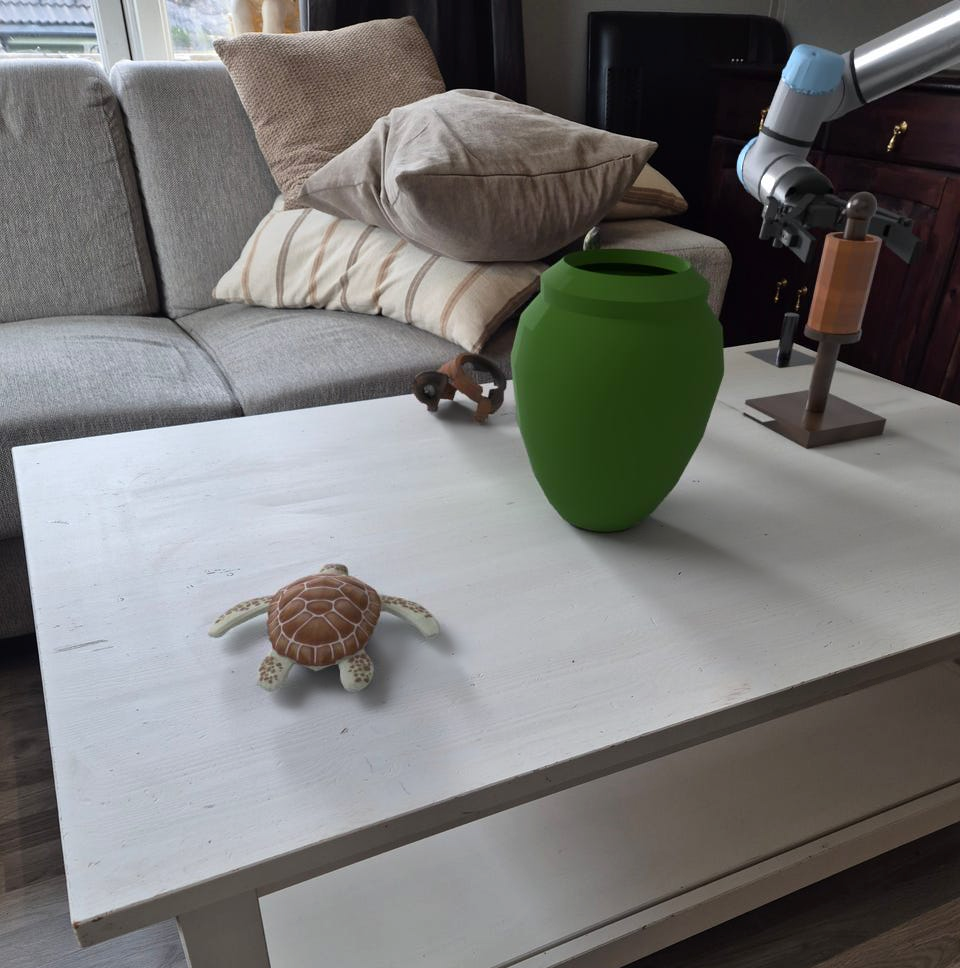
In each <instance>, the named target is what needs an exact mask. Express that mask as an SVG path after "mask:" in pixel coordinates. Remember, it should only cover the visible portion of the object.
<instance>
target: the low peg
mask: <svg viewBox="0 0 960 968" xmlns="http://www.w3.org/2000/svg"><path fill="white" fill-rule="evenodd" d="M799 319H800V315H799V314H798V313H797V312H796V313H795V312H786V313H784V316H783V322H782V327H781V331H780V337H779V342H778V345H777V346H778V347H772V348H765V349H757V350H749V351H744V353H745V354H747V355H749V356H751V357H754V358H755V359H758V360H760V361H762V362H765V363H767V364H769V365H772V366H774V367H776V368H778V369H784V368H791V367H799V366H806V365H813V364H815V360H816V357H814V356H811V355H808V354H806V353H804V352H802V351H799V350H796V349H794V343H795V338H796V334H797V329H798V323H799Z"/></svg>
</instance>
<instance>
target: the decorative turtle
mask: <svg viewBox="0 0 960 968" xmlns="http://www.w3.org/2000/svg"><path fill="white" fill-rule="evenodd" d="M382 612H383V613H388V614H391V615H393V616H395V617H397V618H399V619H400V620H402V621H404V622H406V623H408V624H409V625H411V626H414V628H416V629H417V630H418V631H419V632H420V633H421V634H422V635H423V637H425V638H426V639H429V640H431V639H435V638H437V637H439V635H440V633H441V628H440V627H441V626H440V624H439V621H438V620H437V618H436V617H435V616H434V615H433V613H431V612H430V611H429V610H428V609H427V608H425V607H424V606H423V605H421V604H419V603H418V602H415V601H412V600H411V599H407V598H401V597H397V596H392V595H384V594H379V593H378V592H377V590H376V589H375V588H374V587H372V586H371V585H369V584H367V583H365V582H364V581H362V580H360V579H359V578H357V577H354V576H353V575H349V568H348V567H347V566H346V564H345V565H344V564H342V563H327V564H324V565H323V566H321V567H320V569H319V572H318V573H317V574H310V575H307V576H303V577H301V578H298V579H296V580H294V581H292V582H291V583H289V584H287V585H285V586H284V587H281V588H280V589H279V590H278V591H277V592H276V593H275V594H272V595H265V596H260V597H256V598H252V599H248V600H245V601H243V602H240V603H238V604H236V605H234V606H233V607H231V608H229V609H228V610H226V611H225V612H224V613H222V614H221V615H220V616H219V617H218V618H216V619H215V620H214V621H213V623H212V624H211V625H210V627H209V628H208V631H207V636H209V637H210V638H214V639H219V638H222V637H223V636H224V635H226V633H228V632H229V631H230V630H232V629H233V628H236V627H238V626H240V625H242V624H244V623H246V622H249V621H250V620H253V619H254V618H256V617H258V616H261V615H264V614H266V613H267V620H266V626H267V630H266V631H267V635H268V641H270V643H271V648H272V649H271V651H270V652H269V653H268V654H267V655H266V657H265V658H264V659H263V660H262V661H261V663H260V664H259V666H258V668H257V670H256V681H257V683H258V686H259V687H260V688H261V689H262V690H264V691H267V692H277V691H279V690H281V688H282V686H283V685H284V684H285V682H286V681H287V679H288V677H289V674H290V671H291V670H292V668H293V667H294V665H300V666H302V667H305V668H307V669H309V670H312V671H314V672H318V671H319V672H320V671H321V670H324V669H326V668H329V667H331V666H334V665H338V669H339V676H340V677H339V678H340V682H341V684H342V687H343V688H344V690H345V691H348V693H349V692H351V693H353V692H359V691H361V690H363V689H365V688H366V687H367V686H368V685H369V684H370V682H371V681H372V679H373V677H374V673H375V666H374V663H373V661H372V660H371V658H370V657H369V654H368V653H367V652H366V650H365V647H366V645H367V644H368V641H369V639H370V638H371V637H372V635H373V634H374V631H375V628H376V627H377V623H378V620H379V618H380V617H381V613H382Z"/></svg>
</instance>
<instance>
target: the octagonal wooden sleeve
mask: <svg viewBox="0 0 960 968" xmlns="http://www.w3.org/2000/svg"><path fill="white" fill-rule="evenodd" d="M843 236H844V232H840V231H836V232H830V233H828V234H826V235H825V240H824V244H823V250H822V254H821V259H820V262H819V268H818V273H817V277H816V282H815V287H814V291H813V296H812V300H811V304H810V309H809V313H808V320H807V323H806V324H807V325H808V326H809V327H810V328H811V329H814V330H817V331H819V332H824V333H830V334H853V333H857V332H858V331H859V330H860V328H861V329H862V323H863V319H864V315H865V312H866V307H867V304H868V299H869V295H870V292H871V288H872V284H873V279H874V275H875V271H876V267H877V263H878V259H879V254H880V251H881V246H882V242H883V240H882V239H881V238H880V237H878V236H874V235H870V234H867V235H866V239H865V241H851V240H843Z"/></svg>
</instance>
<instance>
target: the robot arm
mask: <svg viewBox="0 0 960 968" xmlns="http://www.w3.org/2000/svg"><path fill="white" fill-rule="evenodd" d="M959 63H960V0H951V1H949V2H947V3H945V4H944V5H941V6H939V7H937V8H935V9H933V10H930V11H929V12H926V13H925V14H923V15H920V16H918V17H917V18H915V19H912V20H911V21H909V22H907V23H904V24H902V25H900V26H898V27H896V28H894V29H892V30H889V31H888V32H886V33H884V34H882V35H880V36H878V37H876V38H873V39H872V40H870V41H867V42H865V43H863V44H861V45H860V46H857V47H855V48H853V49H851V50H848V51H846V52H844V53H842V54H838V53H836V52H834V51H830V50H829V49H825V48H822V47H818V46H815V45H811V44H806V43H801V44H798V45H796V46H795V47H794V48H793V49H792V52H791V54H790V57H789V59H788V61H787V63H786V65H785V67H783V69H782V72H781V73H782V74H781V77H780V80H779V83H778V86H777V88H776V91H775V93H774V96H773V98H772V101H771V103H770V106H769V109H768V112H767V114H766V117H765V119H764V122H763V124H762V127H761V129H760V131H759V133H758V135H757V136H756V137H754V138H752V139H750V140H749V142H748V143H747V144H745V146H743V148H742V149H741V151H740V153H739V154H738V158H737V162H736V172H737V177H738V179H739V181H740V182H741V184H742V185H743V187H744V189H745V190H746V192H747V193H748V194H750V195H751V197H754V198H755V199H756V200H758V202H760V203H761V204H762V205H763V209H762V213H761V217H762V219H763V220H762V224H761V228H760V233H759V237H758V238H759V240H762V241H767V240H769V238H770V237H774V239H773V242H772V247H773V248H776V249H781V248H783V245H784V246H785V247H788V249H790V250H791V251H792V252H793V253H794V254H795V255H796V256H797V257H798V258H799V259H800V260H801V261H802V262H803V263H804V264H811V262H812V259H813V256H814V252H815V250H816V246H817V242H818V239H816V237H814V235H812V234H811V233H810V232H809V231H810V230H811V229H814V228H816V227H817V228H819V229H831V230H833V231H836V232H844V231H845V227H846V222H847V218H848V217H847V215H846V206H847V203H848V201H849V200H845V199H841V198H839V196H837V195H836V193H835V189H834V186H833V183H832V182H831V180H830V179H829V178H828V177H827V176H826V175H825V174H823V173H822V172H821V171H819V169H818V168H816V167H815V166H814V165H813V164H811V163H810V162H808V161H807V157H808V155H809V153H810V150H811V148H812V146H813V144H814V140H815V139H816V136H817V134H818V132H819V129H820V127H821V125H822V123H828V122H832V121H834V120H837V119H840V118H841V117H843V116H845V115H846V114H847V113H849V112H852V111H853V110H856V109H858V108H860V107H863V106H865V105H867V104H868V103H871V102H873V101H875V100H879V98H882V97H884V96H886V95H889V94H892V93H893V92H896V91H898V90H900V89H902V88H905V87H907V86H909V85H911V84H914V83H916V82H919V81H920V80H922V79H925V78H927V77H929V76H931V75H933V74H936V73H938V72H940V71H943V70H945V69H948V68H949V67H953V66H954V65H956V64H959ZM842 217H843V218H842ZM841 219H842V220H841ZM776 220H778V221H776ZM840 220H841V223H839V221H840ZM914 224H915V220H914V219H911V218H908V217H907V216H906V215H905V214H903V215H901V214H898V213H895V212H892V211H889V210H887V209H885V208H882V207H881V206H880V207H879V206H877V209H876V212H875V214H874V216H873V217H872V218H871V219H870V223H869V227H868V231H867V234H870V235H874V236H878V237H880V238H881V239H882V242H883V241H884V242H885V243H884V245H885V246H886V247H887V248H888V249H889V250H890V251H892V252H893V253H895V254H896V256H898V257H899V258H900V259H902V260H903V262H905V263H907V265H914V264H915V263H916V261H917V257H918V254H919V252H920V248H921V247H922V243H923V241H922V240H921V239H920V238H919V237H917V236H916V235H915V234H913V233H912V230H913V227H914Z"/></svg>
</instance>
